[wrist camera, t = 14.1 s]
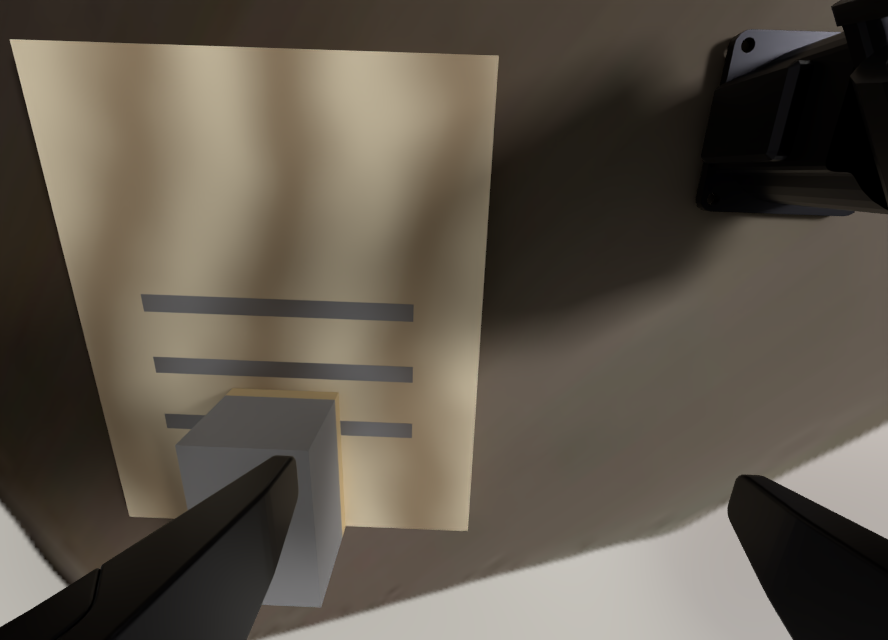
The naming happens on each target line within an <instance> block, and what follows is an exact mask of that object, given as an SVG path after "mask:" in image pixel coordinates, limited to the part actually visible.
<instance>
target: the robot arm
mask: <svg viewBox="0 0 888 640" xmlns="http://www.w3.org/2000/svg"><path fill="white" fill-rule="evenodd" d="M831 7H832V11H833V14H834V18H835V21H836V25H837V26H842V27H843V30H844V32H816V31H785V30H755V29H751V30H746V31H744V32H742V33H740V34H738V35H737V36H735V37H734V38H733V39H732V40H731V42H730V44H729V47H728V51H727V55H726V60H725V65H724V69H723V74H722V79H721V84H720V87H719V88H718V89H716V91H715V93H714V97H713V102H712V107H711V112H710V116H709V121H708V126H707V131H706V135H705V140H704V145H703V150H702V154H701V157H702V159H703V161H704V163H703V168H702V172H701V177H700V182H699V186H698V191H697V196H696V204H697V206H698V207H699V208H700V209H701V210H705V211H716V212H744V213H771V214H799V215H826V216H848V215H851V214H852V213H854V212H855V211H859V212H870V213H880V214H888V0H840V1H839V2H837V3H835V4H834V5H832V6H831ZM743 40H744V41H747V43H748V50H747V52H746V53H745V52H743V51H742V49H741V44H742V42H743ZM711 193H713V194H714V200H713V202H712V203H710V204H708V202H707V198H708V196H709V195H710V194H711ZM298 494H299V487H298V475H297V464H296V460H295V458H294V457H293V456H285V455H275V456H272V457H270V458H269V459H267V460H266V461H264V462H263V463H261V464H259V465H258V466H256V467H255V468H253V469H252V470H250V471H248V472H247V473H245V474H244V475H242V476H241V477H239V478H237V479H236V480H234V481H233V482H231V483H230V484H228V485H226V486H225V487H223V488H222V489H220V490H219V491H217V492H216V493H214V494H212V495H211V496H209V497H208V498H206V499H205V500H203V501H201V502H200V503H198V504H197V505H195V506H194V507H192V508H190V509H189V510H187V511H186V512H184V513H183V514H181V515H179V516H178V517H176V518H175V519H173V520H172V521H170V522H169V523H167V524H165V525H164V526H162V527H161V528H159V529H158V530H156V531H154V532H153V533H151V534H150V535H148V536H147V537H145V538H143V539H142V540H140V541H139V542H137V543H136V544H134V545H132V546H131V547H129V548H128V549H126V550H125V551H123V552H121V553H120V554H118V555H117V556H115V557H114V558H112V559H110V560H109V561H107V562H106V563H104V564H103V565H102V566H101V569H99V568H97V569H95V570H93V571H91V572H90V573H88V574H87V575H85V576H84V577H82V578H81V579H79V580H77V581H76V582H74V583H73V584H71V585H69V586H68V587H66V588H65V589H63V590H62V591H60V592H58V593H57V594H55V595H53V596H52V597H50V598H49V599H47V600H45V601H44V602H42V603H40V604H39V605H37V606H35V607H34V608H33V609H31V610H29V611H27V612H26V613H24V614H22V615H20V616H19V617H17V618H15V619H13V620H12V621H10V622H8V623H7V624H5V625H3V626H1V627H0V640H247V637H248V635H249V633H250V631H251V628H252V626H253V624H254V621H255V619H256V617H257V614H258V612H259V610H260V607H261V605H262V603H263V600H264V598H265V596H266V593H267V591H268V589H269V586H270V584H271V581H272V579H273V576H274V574H275V571H276V568H277V565H278V561H279V558H280V555H281V552H282V549H283V545H284V542H285V539H286V536H287V533H288V529H289V526H290V523H291V520H292V516H293V513H294V510H295V507H296V504H297V500H298ZM728 517H729V520H730V522H731V524H732V526H733V528H734V530H735V532H736V534H737V536H738V539H739V541H740V543H741V545H742V547H743V549H744V551H745V553H746V555H747V557H748V559H749V561H750V563H751V565H752V567H753V569H754V571H755V573H756V575H757V577H758V579H759V581H760V583H761V585H762V587H763V589H764V591H765V593H766V595H767V597H768V598H769V600H770V602H771V604H772V605H773V607H774V609H775V611H776V612H777V614H778V616H779V617H780V619H781V621H782V622H783V624H784V626H785V627H786V629H787V631H788V632H789V634H790V636H791V637H792V639H793V640H888V539H886V538H884V537H882V536H880V535H878V534H876V533H874V532H872V531H870V530H868V529H866V528H864V527H862V526H860V525H858V524H857V523H855V522H852V521H851V520H849V519H846V518H845V517H843V516H841V515H839V514H837V513H835V512H833V511H831V510H829V509H827V508H825V507H823V506H821V505H819V504H817V503H815V502H813V501H811V500H809V499H807V498H805V497H803V496H801V495H800V494H798V493H796V492H794V491H792V490H790V489H788V488H786V487H784V486H782V485H780V484H778V483H776V482H774V481H772V480H770V479H768V478H766V477H764V476H760V475H740V476H738V478H737V479H736V481H735V484H734V487H733V491H732V494H731V497H730V500H729V504H728Z"/></svg>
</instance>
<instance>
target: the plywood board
mask: <svg viewBox="0 0 888 640" xmlns="http://www.w3.org/2000/svg"><path fill="white" fill-rule="evenodd" d="M10 42H11V46H12V50H13V54H14V58H15V62H16V66H17V70H18V74H19V78H20V82H21V86H22V90H23V94H24V98H25V102H26V106H27V110H28V114H29V118H30V122H31V126H32V130H33V134H34V138H35V142H36V146H37V150H38V154H39V158H40V162H41V166H42V169H43V173H44V177H45V181H46V185H47V189H48V193H49V197H50V201H51V205H52V209H53V213H54V217H55V221H56V225H57V229H58V233H59V237H60V241H61V245H62V249H63V253H64V257H65V261H66V265H67V269H68V273H69V277H70V281H71V285H72V289H73V293H74V297H75V301H76V305H77V309H78V313H79V317H80V321H81V325H82V329H83V333H84V337H85V341H86V345H87V349H88V353H89V357H90V361H91V365H92V369H93V373H94V377H95V381H96V385H97V389H98V393H99V397H100V401H101V404H102V408H103V412H104V416H105V420H106V424H107V428H108V432H109V436H110V440H111V444H112V448H113V452H114V456H115V460H116V464H117V468H118V472H119V476H120V480H121V484H122V488H123V492H124V496H125V500H126V504H127V508H128V512H129V516H130V517H150V518H173V519H175V518H176V517H178V516H179V515H181V514H183V513H184V512H186V511H187V510H188V508H187V503H186V498H185V493H184V488H183V483H182V478H181V473H180V468H179V463H178V458H177V453H176V448H175V445H176V444H177V443H178V442H179V441H180V440H181V439H182V438H183V437H184V436H185V435H186V434H187V433H188V432H189V431H190V430H191V429H192V428H193V427H194V426H195V425H196V424H197V423H198V422H199V421H200V420H201V419H202V418H203V417H204V416H205V415H206V414H207V413H208V412H209V411H210V410H211V409H212V408H213V407H214V406H215V405H216V404H217V403H218V402H219V401H220V400H221V399H222V398H223V397H224V396H225V395H226V394H227V393H228V392H229V391H230V390H231V389H232V388H243V389H268V390H293V391H317V392H339V408H340V428H341V447H342V467H343V487H344V506H345V526H361V527H385V528H408V529H431V530H455V531H468V518H469V503H470V487H471V472H472V457H473V441H474V426H475V411H476V395H477V380H478V365H479V349H480V334H481V319H482V303H483V288H484V273H485V257H486V242H487V227H488V211H489V196H490V181H491V165H492V150H493V135H494V119H495V104H496V89H497V73H498V58H499V56H491V55H461V54H431V53H401V52H371V51H341V50H312V49H282V48H252V47H222V46H192V45H162V44H132V43H102V42H72V41H42V40H13V39H10Z"/></svg>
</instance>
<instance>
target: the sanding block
mask: <svg viewBox="0 0 888 640" xmlns="http://www.w3.org/2000/svg"><path fill="white" fill-rule="evenodd" d="M175 448H176V453H177V458H178V463H179V468H180V473H181V478H182V483H183V488H184V493H185V498H186V503H187V508H188V510H189V509H190V508H192V507H194V506H195V505H197V504H198V503H200V502H201V501H203V500H205V499H206V498H208V497H209V496H211V495H212V494H214V493H216V492H217V491H219V490H220V489H222V488H223V487H225V486H226V485H228V484H230V483H231V482H233V481H234V480H236V479H237V478H239V477H241V476H242V475H244V474H245V473H247V472H248V471H250V470H252V469H253V468H255V467H256V466H258V465H259V464H261V463H263V462H264V461H266V460H267V459H269V458H270V457H272V456H275V455H285V456H293V457H294V458H295V460H296V464H297V475H298V487H299V494H298V500H297V504H296V507H295V510H294V513H293V516H292V520H291V523H290V526H289V529H288V533H287V536H286V539H285V542H284V545H283V549H282V552H281V555H280V558H279V561H278V565H277V568H276V571H275V574H274V576H273V579H272V581H271V584H270V586H269V589H268V591H267V593H266V596H265V598H264V600H263V603H262V605H280V606H303V607H321V606H322V603H323V599H324V596H325V593H326V589H327V586H328V583H329V579H330V576H331V573H332V570H333V566H334V563H335V560H336V556H337V553H338V550H339V546H340V543H341V540H342V537H343V533H344V530H345V527H346V526H345V506H344V487H343V467H342V447H341V428H340V408H339V392H317V391H293V390H268V389H243V388H232V389H231V390H230V391H229V392H228V393H227V394H226V395H225V396H224V397H223V398H222V399H221V400H220V401H219V402H218V403H217V404H216V405H215V406H214V407H213V408H212V409H211V410H210V411H209V412H208V413H207V414H206V415H205V416H204V417H203V418H202V419H201V420H200V421H199V422H198V423H197V424H196V425H195V426H194V427H193V428H192V429H191V430H190V431H189V432H188V433H187V434H186V435H185V436H184V437H183V438H182V439H181V440H180V441H179V442H178V443H177V444H176V445H175Z"/></svg>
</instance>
